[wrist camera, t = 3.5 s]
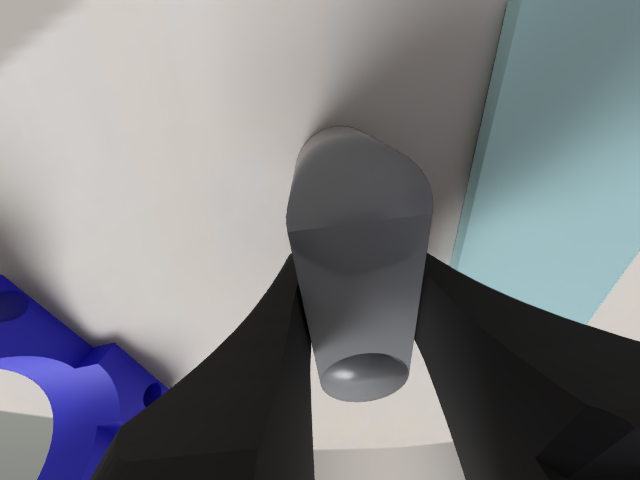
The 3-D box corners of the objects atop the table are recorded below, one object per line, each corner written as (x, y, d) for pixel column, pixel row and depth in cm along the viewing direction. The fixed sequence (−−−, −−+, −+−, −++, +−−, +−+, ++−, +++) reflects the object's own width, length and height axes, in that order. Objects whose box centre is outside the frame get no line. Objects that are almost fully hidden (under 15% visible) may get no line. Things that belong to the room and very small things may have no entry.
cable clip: (172, 388, 17) (114, 510, 12) (118, 399, 18) (40, 520, 13) (32, 265, 11) (-202, 402, 6) (-45, 285, 12) (-325, 430, 6)
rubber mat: (816, -43, 7) (857, -55, 6) (573, 321, 15) (583, 329, 14) (507, 1, 7) (523, -7, 6) (434, 337, 15) (439, 345, 15)
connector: (381, 120, 8) (444, 134, 5) (378, 333, 15) (402, 415, 11) (287, 132, 9) (271, 157, 5) (323, 340, 15) (329, 423, 11)
